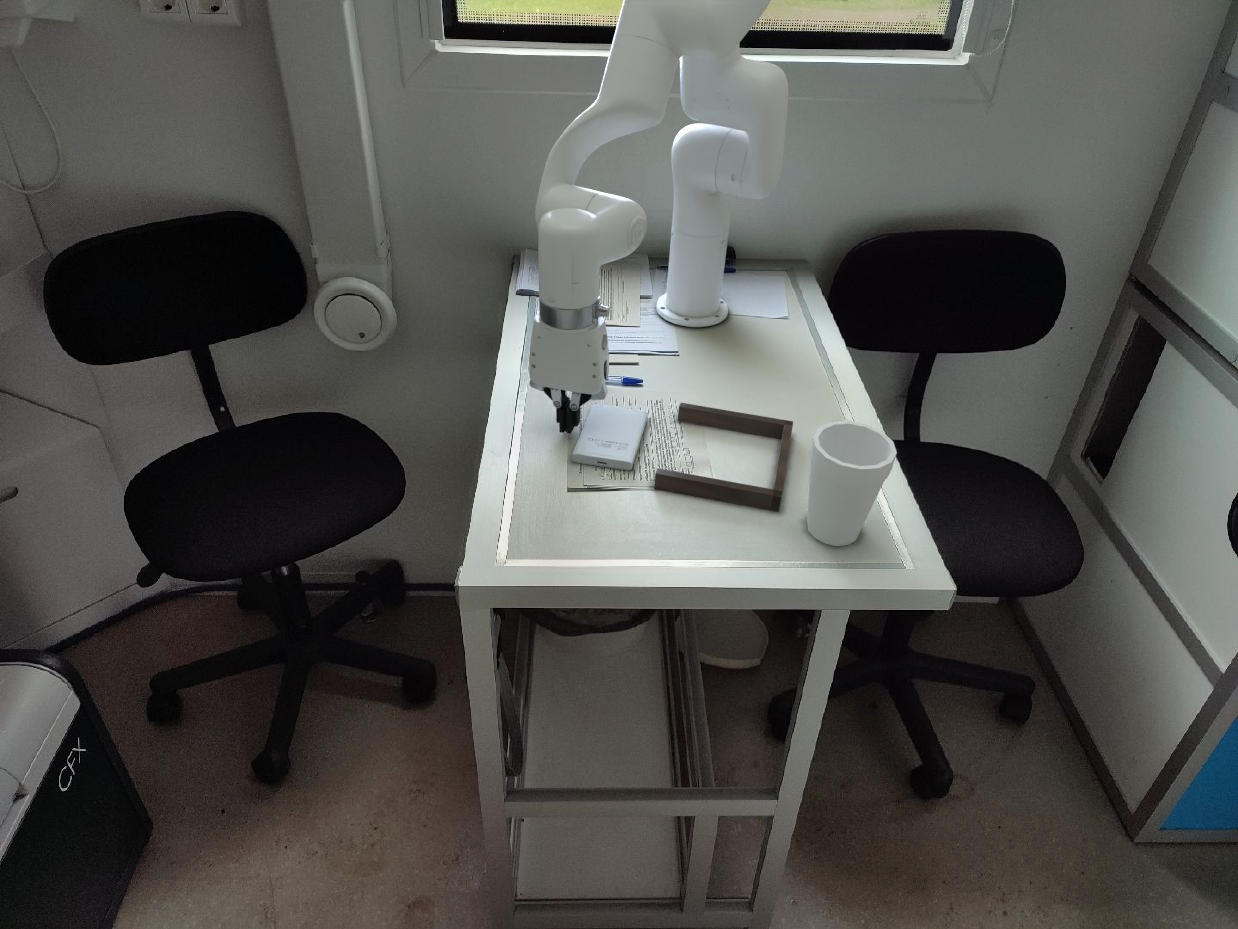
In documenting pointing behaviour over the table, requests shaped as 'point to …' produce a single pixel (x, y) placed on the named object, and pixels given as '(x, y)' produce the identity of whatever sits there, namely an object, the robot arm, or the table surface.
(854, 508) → the foam cup
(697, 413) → the dock
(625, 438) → the hard drive
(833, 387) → the table surface
